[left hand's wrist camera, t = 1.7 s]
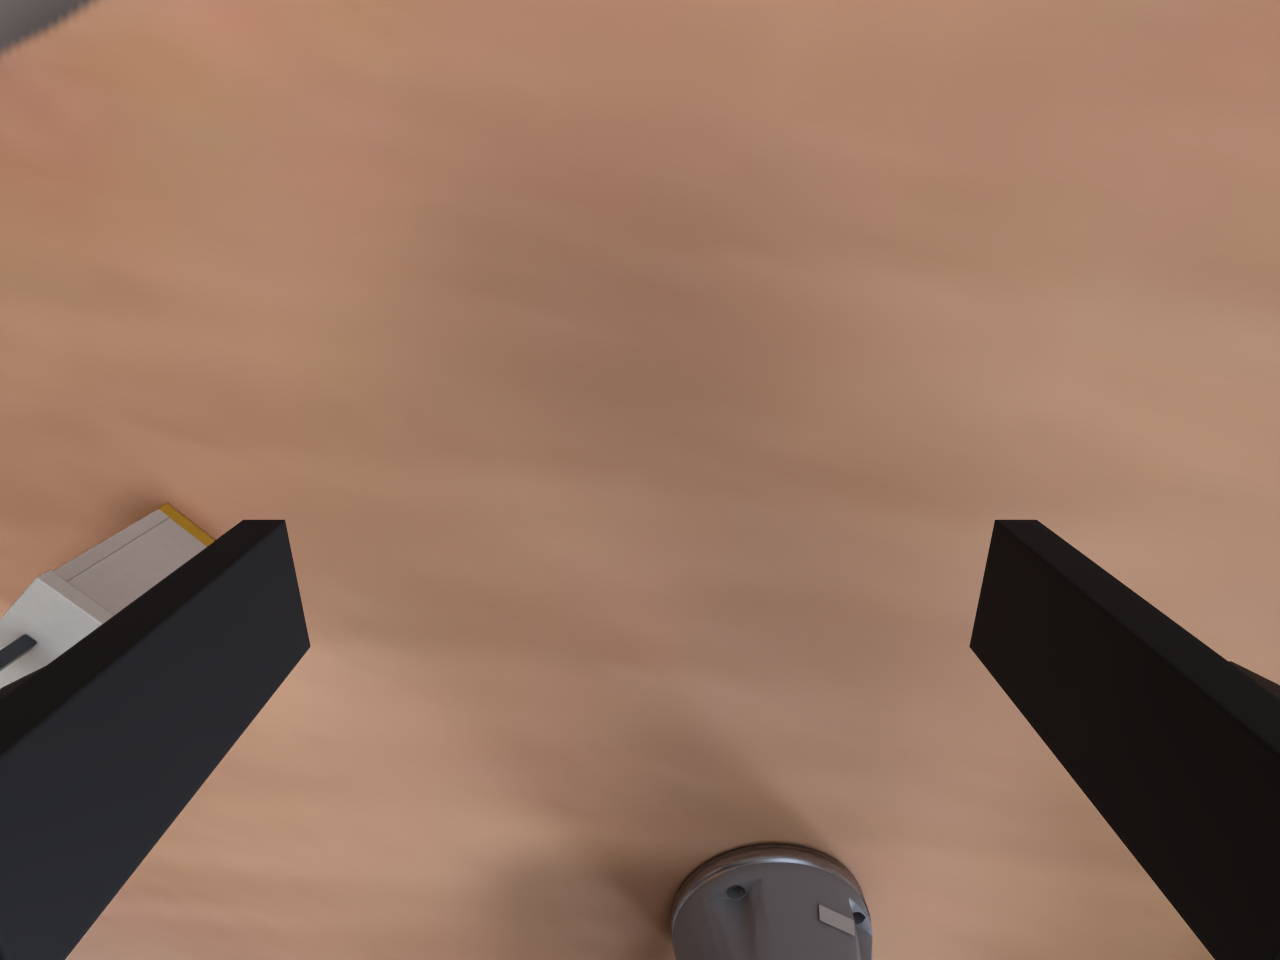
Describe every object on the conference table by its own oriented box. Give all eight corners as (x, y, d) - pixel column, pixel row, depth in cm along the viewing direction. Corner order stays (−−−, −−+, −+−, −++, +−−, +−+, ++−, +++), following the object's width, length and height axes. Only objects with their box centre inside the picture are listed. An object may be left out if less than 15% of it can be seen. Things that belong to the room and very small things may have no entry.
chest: (167, 502, 41) (45, 574, 33) (294, 602, 43) (211, 693, 35) (49, 634, 44) (-90, 730, 36) (173, 720, 47) (71, 828, 38)
